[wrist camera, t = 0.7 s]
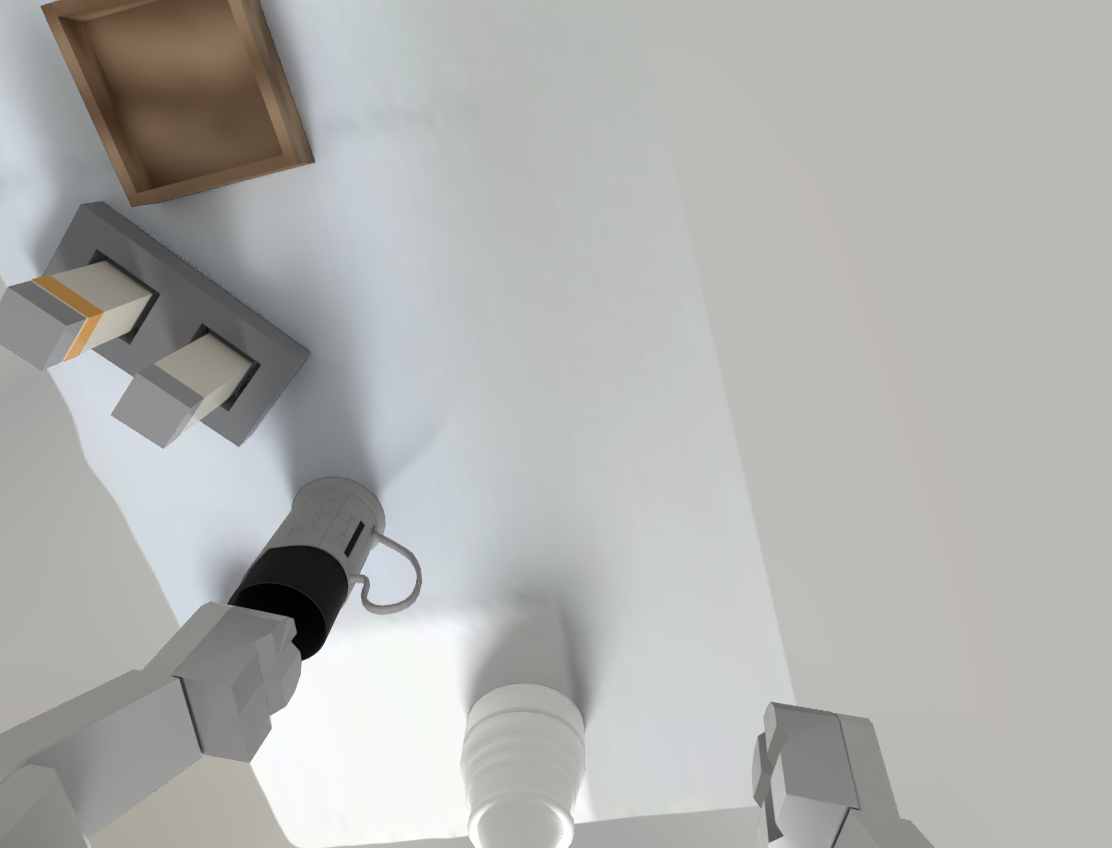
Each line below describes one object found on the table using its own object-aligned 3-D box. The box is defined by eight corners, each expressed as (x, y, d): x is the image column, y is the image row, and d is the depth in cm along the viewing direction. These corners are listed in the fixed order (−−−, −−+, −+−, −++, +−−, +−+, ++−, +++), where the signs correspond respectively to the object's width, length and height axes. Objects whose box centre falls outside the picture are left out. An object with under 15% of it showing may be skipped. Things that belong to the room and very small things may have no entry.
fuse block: (49, 299, 56) (26, 305, 53) (102, 201, 53) (81, 204, 50) (251, 435, 60) (239, 446, 58) (310, 352, 57) (300, 361, 55)
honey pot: (580, 773, 76) (585, 949, 60) (466, 768, 76) (439, 943, 60) (588, 685, 71) (595, 851, 55) (466, 680, 71) (436, 844, 55)
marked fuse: (98, 294, 56) (-18, 333, 45) (120, 255, 54) (7, 285, 43) (143, 326, 57) (42, 371, 46) (166, 288, 55) (68, 326, 44)
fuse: (197, 362, 58) (110, 414, 47) (220, 326, 57) (137, 372, 45) (238, 390, 59) (163, 448, 48) (262, 356, 58) (190, 408, 46)
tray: (75, 14, 48) (40, 6, 45) (246, -36, 47) (223, -48, 43) (158, 202, 53) (131, 207, 49) (315, 162, 51) (298, 163, 48)
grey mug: (283, 477, 62) (203, 575, 48) (438, 474, 62) (402, 572, 48) (300, 558, 65) (230, 671, 52) (446, 556, 65) (415, 668, 51)
